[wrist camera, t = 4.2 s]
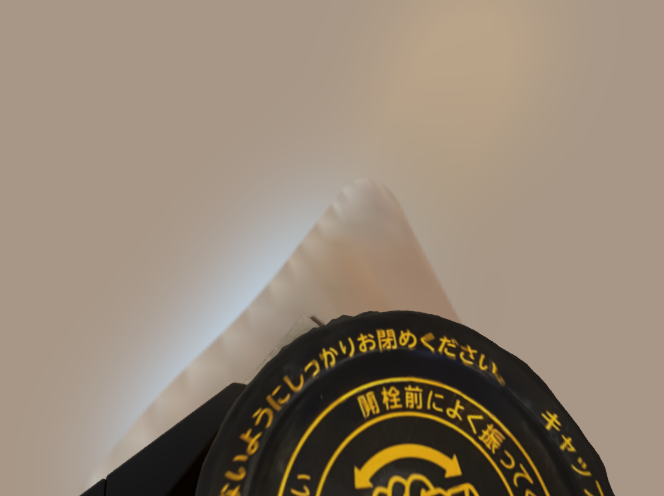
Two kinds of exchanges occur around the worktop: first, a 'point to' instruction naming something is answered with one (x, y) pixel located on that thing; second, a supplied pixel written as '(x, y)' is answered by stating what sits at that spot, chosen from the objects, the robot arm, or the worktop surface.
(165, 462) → the robot arm
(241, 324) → the worktop surface
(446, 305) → the worktop surface
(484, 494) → the condiment
